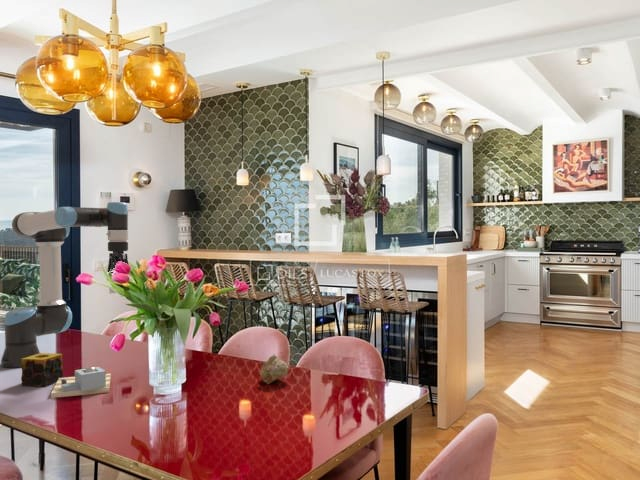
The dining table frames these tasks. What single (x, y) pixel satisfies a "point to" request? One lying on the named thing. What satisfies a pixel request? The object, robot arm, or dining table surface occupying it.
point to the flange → (86, 380)
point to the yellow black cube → (41, 369)
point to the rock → (273, 369)
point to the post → (90, 369)
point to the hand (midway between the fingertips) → (118, 294)
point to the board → (59, 393)
